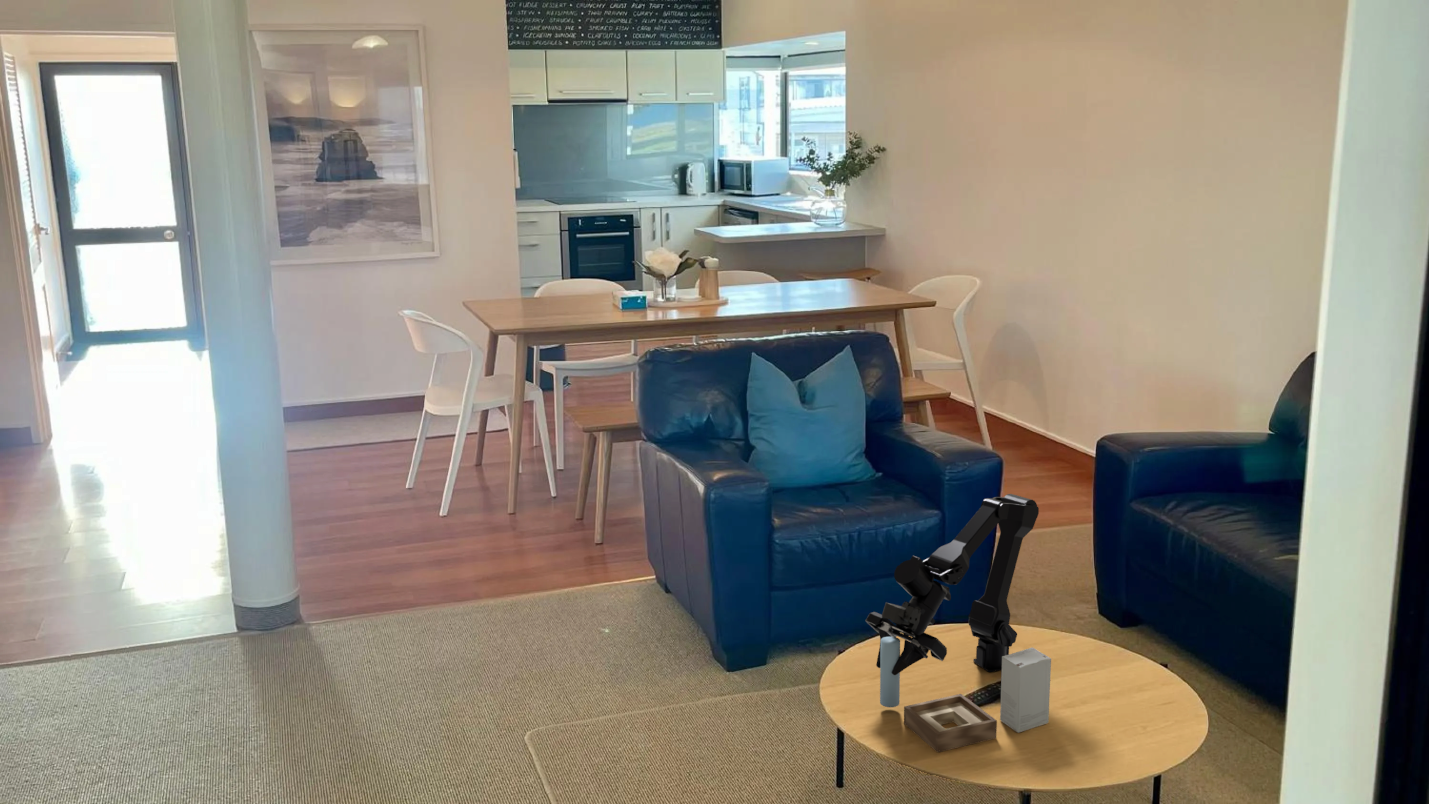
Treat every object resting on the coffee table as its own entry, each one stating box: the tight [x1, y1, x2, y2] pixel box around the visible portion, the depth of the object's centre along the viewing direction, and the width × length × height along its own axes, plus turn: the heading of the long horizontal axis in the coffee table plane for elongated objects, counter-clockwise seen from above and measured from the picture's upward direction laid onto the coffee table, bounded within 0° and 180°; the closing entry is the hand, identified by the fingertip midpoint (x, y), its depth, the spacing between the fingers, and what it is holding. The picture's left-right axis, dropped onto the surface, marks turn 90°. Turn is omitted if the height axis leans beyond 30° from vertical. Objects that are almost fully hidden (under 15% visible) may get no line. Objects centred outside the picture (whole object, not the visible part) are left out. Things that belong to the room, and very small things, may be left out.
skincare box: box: [999, 647, 1052, 733], centre depth 238 cm, size 8×6×15 cm
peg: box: [879, 636, 901, 708], centre depth 244 cm, size 4×4×14 cm
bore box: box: [903, 693, 998, 753], centre depth 237 cm, size 14×13×4 cm
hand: (885, 670), depth 243 cm, fingers closed on peg, 4 cm apart
